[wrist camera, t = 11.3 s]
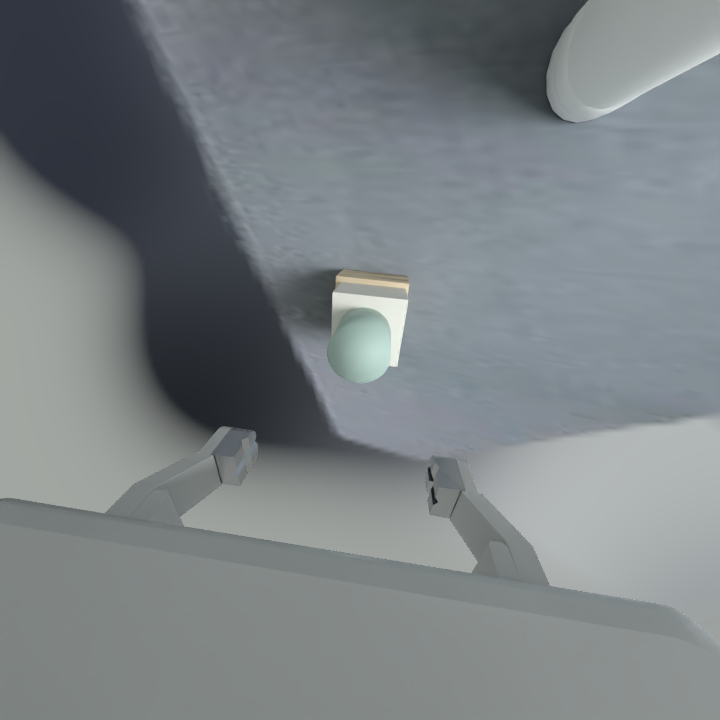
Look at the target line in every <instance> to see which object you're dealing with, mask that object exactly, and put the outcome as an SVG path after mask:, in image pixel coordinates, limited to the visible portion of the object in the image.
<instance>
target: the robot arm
mask: <svg viewBox="0 0 720 720" xmlns="http://www.w3.org/2000/svg"><path fill="white" fill-rule="evenodd" d="M255 438H256V433H255V431H250V430H244V429H238V428H231V427H225V426H222V427H221V428H219V429H218V430H217V432H216V433H215V434H214V435H213V436H212V437H211V439H210V440H209V441H208V442H207V443H206V445H205V446H204V447H203V448H202V449H201V450H200V452H199V453H193V454H191V455H189V456H187V457H185V458H183V459H182V460H180V461H178V462H176V463H174V464H172V465H170V466H168V467H166V468H164V469H162V470H160V471H158V472H156V473H154V474H152V475H151V476H148V477H147V478H145V479H143V480H141V481H139V482H137V483H135V484H133V485H132V486H131V487H130V488H129V490H127V491H126V493H124V494H123V495H122V496H121V497H120V499H119V500H117V501H116V503H114V505H112V506H111V507H110V509H109V510H108V511H107V512H105V513H98V512H92V511H86V510H80V509H74V508H68V507H62V506H56V505H50V504H44V503H37V502H32V501H26V500H20V499H13V498H2V499H0V720H720V642H719V641H718V640H717V639H715V638H714V637H713V636H712V635H710V634H709V633H708V632H707V631H705V630H704V629H703V628H702V627H701V626H699V625H698V624H697V623H695V622H694V621H693V620H691V619H690V618H689V617H687V616H686V615H685V614H683V613H682V612H680V611H678V610H676V609H674V608H672V607H669V606H666V605H661V604H656V603H650V602H644V601H638V600H632V599H626V598H620V597H613V596H607V595H601V594H595V593H588V592H583V591H577V590H570V589H564V588H558V587H552V586H550V585H549V582H548V580H547V578H546V576H545V573H544V571H543V569H542V566H541V564H540V562H539V560H538V557H537V555H536V553H535V551H534V548H533V546H532V545H531V544H530V543H529V542H528V541H527V540H526V539H525V538H524V537H523V536H522V535H521V534H520V533H519V532H518V531H517V530H516V529H515V528H514V527H513V525H512V524H511V523H510V522H508V520H507V519H506V518H505V517H504V516H503V515H502V514H501V513H500V512H499V511H498V510H497V509H496V508H495V507H494V506H493V505H492V504H491V503H490V502H489V501H488V500H487V499H486V498H485V497H484V496H483V494H479V493H478V491H477V487H476V484H475V482H474V478H473V475H472V472H471V469H470V466H469V463H468V461H467V460H464V459H456V458H455V459H454V458H449V457H441V456H433V455H432V456H431V458H430V467H429V468H427V472H426V490H427V492H428V493H429V497H428V505H429V513H430V515H434V516H440V517H445V518H450V521H451V522H452V523H453V525H454V527H455V528H456V530H457V531H458V533H459V534H460V536H461V537H462V539H463V540H464V542H465V543H466V544H467V546H468V548H469V549H470V551H471V552H472V554H473V555H474V557H475V558H476V560H477V561H478V563H477V565H476V567H475V568H474V570H473V571H472V573H466V572H460V571H453V570H448V569H442V568H435V567H429V566H423V565H417V564H411V563H405V562H399V561H392V560H386V559H380V558H374V557H368V556H362V555H356V554H350V553H344V552H337V551H331V550H325V549H319V548H313V547H307V546H300V545H294V544H288V543H282V542H276V541H270V540H264V539H257V538H251V537H245V536H239V535H233V534H227V533H221V532H214V531H209V530H202V529H196V528H190V527H184V525H183V523H182V521H181V519H180V516H182V515H183V514H184V513H186V512H187V511H188V510H189V509H191V508H192V507H193V506H195V505H196V504H197V503H199V502H200V501H201V500H203V499H204V498H205V497H206V496H208V495H209V494H210V493H212V492H213V491H214V490H216V489H217V488H218V487H219V486H221V484H227V485H236V486H240V485H241V484H242V482H243V480H244V479H245V477H246V475H247V474H248V472H247V468H248V467H250V466H251V465H253V463H254V461H255V460H256V456H257V453H258V445H257V443H256V442H255V441H254V440H255Z"/></svg>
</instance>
